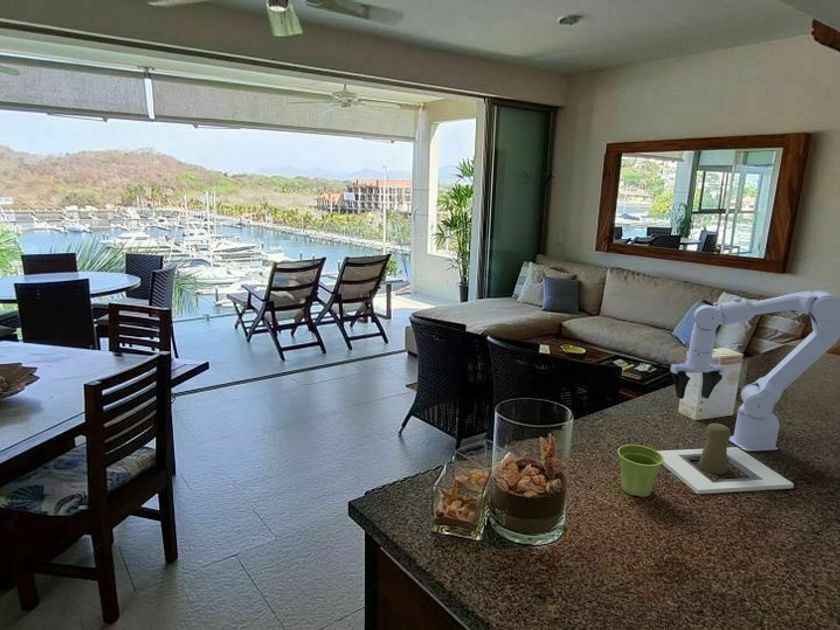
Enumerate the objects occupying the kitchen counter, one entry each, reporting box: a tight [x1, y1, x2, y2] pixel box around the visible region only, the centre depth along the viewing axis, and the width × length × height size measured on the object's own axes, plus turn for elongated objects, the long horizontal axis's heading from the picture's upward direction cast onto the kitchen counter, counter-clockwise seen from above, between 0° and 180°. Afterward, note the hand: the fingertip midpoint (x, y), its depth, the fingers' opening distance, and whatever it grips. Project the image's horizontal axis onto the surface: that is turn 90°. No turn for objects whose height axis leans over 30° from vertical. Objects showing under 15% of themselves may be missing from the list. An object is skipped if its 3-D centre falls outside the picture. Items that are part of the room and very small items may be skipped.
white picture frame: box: [656, 446, 795, 495], centre depth 129 cm, size 24×18×1 cm
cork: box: [698, 422, 732, 475], centre depth 129 cm, size 6×6×11 cm
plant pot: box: [617, 444, 664, 498], centre depth 118 cm, size 9×9×9 cm
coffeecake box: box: [677, 347, 744, 421], centre depth 161 cm, size 15×7×20 cm, turn 108°
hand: (692, 397), depth 147 cm, fingers open, 7 cm apart
